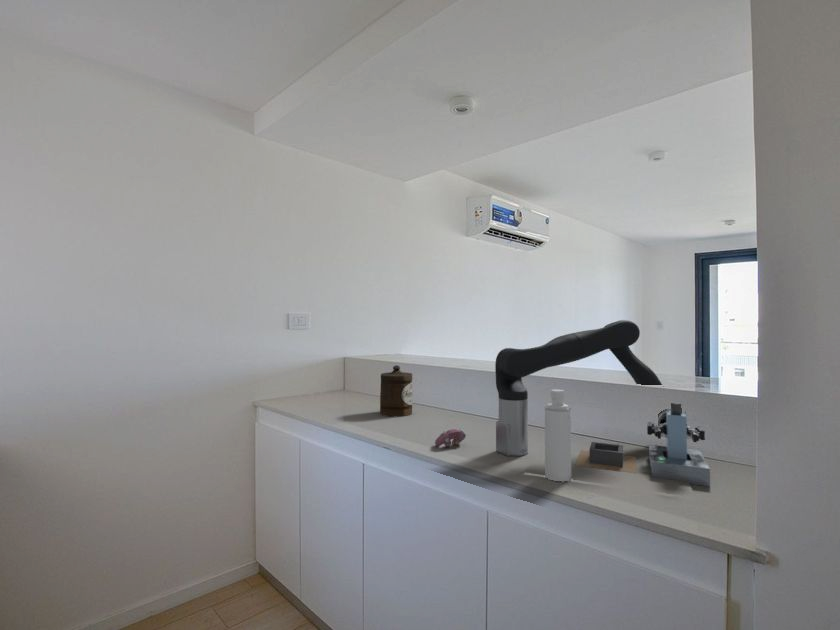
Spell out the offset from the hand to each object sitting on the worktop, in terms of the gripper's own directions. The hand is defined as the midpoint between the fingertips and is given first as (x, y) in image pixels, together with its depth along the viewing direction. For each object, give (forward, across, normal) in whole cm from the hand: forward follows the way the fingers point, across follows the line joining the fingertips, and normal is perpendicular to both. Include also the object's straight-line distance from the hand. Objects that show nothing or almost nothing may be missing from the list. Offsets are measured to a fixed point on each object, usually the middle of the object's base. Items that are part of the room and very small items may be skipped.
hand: (677, 436), depth 119 cm
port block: (-2, 0, +10) cm, 10 cm away
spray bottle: (+17, -29, +10) cm, 35 cm away
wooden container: (-37, -109, +10) cm, 115 cm away
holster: (-2, -18, +10) cm, 21 cm away
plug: (-2, 0, +10) cm, 10 cm away
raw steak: (+1, -66, +10) cm, 67 cm away
